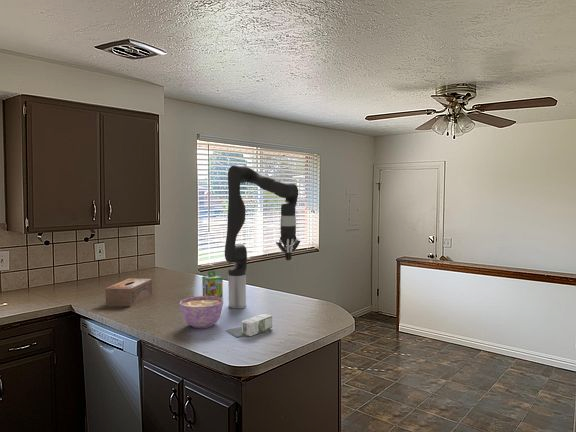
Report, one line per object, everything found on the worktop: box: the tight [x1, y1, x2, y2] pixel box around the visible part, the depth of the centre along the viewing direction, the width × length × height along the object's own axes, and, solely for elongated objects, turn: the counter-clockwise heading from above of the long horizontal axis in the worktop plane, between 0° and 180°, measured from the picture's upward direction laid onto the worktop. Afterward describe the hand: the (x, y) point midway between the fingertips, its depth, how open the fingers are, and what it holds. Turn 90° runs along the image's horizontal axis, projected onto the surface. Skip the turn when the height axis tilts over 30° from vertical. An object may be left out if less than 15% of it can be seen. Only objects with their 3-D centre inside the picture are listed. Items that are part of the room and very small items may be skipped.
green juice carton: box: [201, 270, 224, 298], centre depth 265 cm, size 9×9×15 cm
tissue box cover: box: [105, 278, 153, 307], centre depth 258 cm, size 26×14×10 cm, turn 171°
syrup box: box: [241, 313, 273, 337], centre depth 201 cm, size 6×6×14 cm
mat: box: [225, 326, 270, 338], centre depth 202 cm, size 11×16×1 cm
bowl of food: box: [179, 295, 224, 330], centre depth 210 cm, size 20×20×12 cm
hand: (288, 260), depth 221 cm, fingers closed
